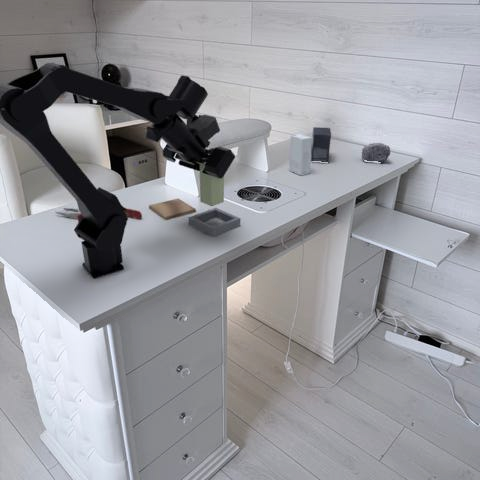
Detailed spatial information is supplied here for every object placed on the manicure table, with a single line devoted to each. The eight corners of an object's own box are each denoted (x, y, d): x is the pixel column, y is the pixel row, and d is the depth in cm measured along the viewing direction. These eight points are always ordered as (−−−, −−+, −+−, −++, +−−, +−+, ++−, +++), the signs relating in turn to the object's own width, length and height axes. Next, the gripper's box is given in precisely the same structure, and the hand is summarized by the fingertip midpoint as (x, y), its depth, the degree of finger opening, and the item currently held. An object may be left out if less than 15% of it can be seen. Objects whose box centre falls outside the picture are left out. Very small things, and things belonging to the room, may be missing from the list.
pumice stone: (364, 162, 166) (356, 161, 158) (369, 141, 164) (361, 139, 156) (392, 166, 161) (385, 165, 152) (397, 145, 159) (390, 143, 151)
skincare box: (310, 173, 145) (313, 137, 139) (299, 176, 143) (303, 139, 137) (297, 168, 149) (300, 133, 144) (287, 171, 147) (290, 135, 142)
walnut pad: (165, 219, 110) (165, 217, 110) (149, 208, 117) (148, 205, 116) (195, 211, 115) (195, 209, 115) (178, 201, 122) (178, 198, 121)
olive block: (211, 206, 104) (211, 165, 99) (200, 201, 106) (199, 161, 102) (223, 202, 106) (224, 162, 102) (212, 197, 109) (212, 158, 104)
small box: (310, 154, 165) (312, 126, 160) (327, 155, 164) (330, 127, 160) (310, 162, 156) (313, 133, 151) (328, 164, 155) (332, 134, 150)
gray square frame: (213, 236, 103) (213, 229, 102) (188, 224, 108) (188, 217, 107) (240, 225, 108) (240, 218, 108) (215, 214, 114) (215, 207, 113)
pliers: (75, 206, 118) (74, 197, 116) (144, 219, 112) (143, 209, 110) (43, 224, 108) (41, 214, 106) (117, 239, 102) (116, 229, 100)
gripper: (229, 111, 87) (262, 154, 100) (170, 98, 99) (206, 139, 111) (200, 157, 86) (238, 196, 98) (143, 139, 97) (183, 175, 109)
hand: (216, 174), depth 104 cm, fingers closed on olive block, 4 cm apart
